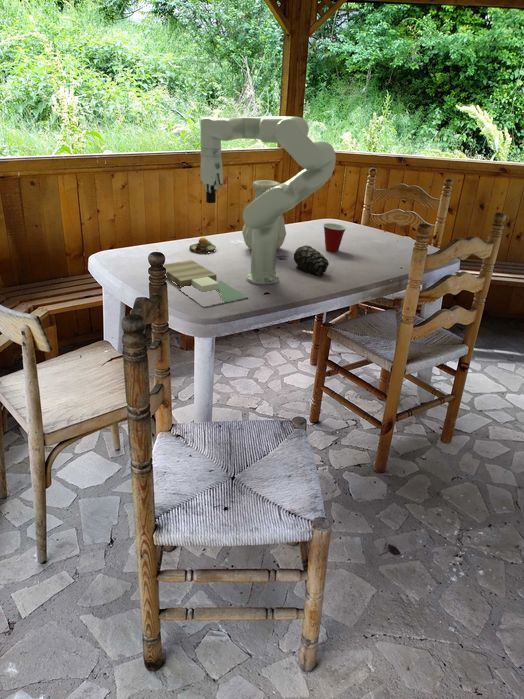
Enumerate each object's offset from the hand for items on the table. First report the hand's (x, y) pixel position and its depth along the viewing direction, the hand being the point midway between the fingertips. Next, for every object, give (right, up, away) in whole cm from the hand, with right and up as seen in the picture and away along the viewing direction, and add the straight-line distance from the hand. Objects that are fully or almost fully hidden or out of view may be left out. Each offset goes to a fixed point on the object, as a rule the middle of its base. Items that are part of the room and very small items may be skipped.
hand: (210, 202), depth 214 cm
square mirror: (+2, -37, -12) cm, 39 cm away
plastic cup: (+53, -11, +43) cm, 69 cm away
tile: (-1, -34, -8) cm, 35 cm away
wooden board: (-10, -29, +3) cm, 30 cm away
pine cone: (+41, -25, +16) cm, 50 cm away
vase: (+20, -11, +40) cm, 46 cm away
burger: (-7, -12, +36) cm, 39 cm away
